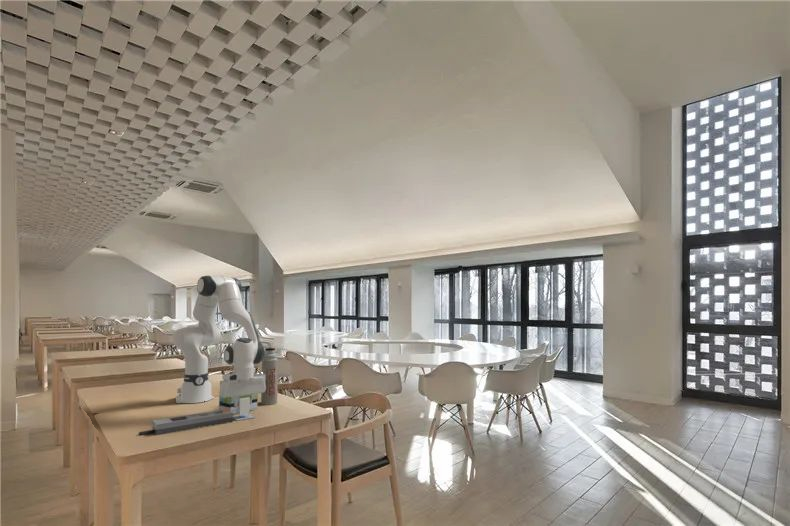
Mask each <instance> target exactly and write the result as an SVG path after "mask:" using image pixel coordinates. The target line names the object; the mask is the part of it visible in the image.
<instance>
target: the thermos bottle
mask: <svg viewBox="0 0 790 526" xmlns="http://www.w3.org/2000/svg"><path fill="white" fill-rule="evenodd" d="M264 350H265V356H264V358H263V360H262V361H261V372H262V373H264V374H265V376H266V379H265V385H266V390H265V392H264V393H260V394H261V395H260V396H261V397H260V404H261V405H263V406H264V405H265V406H269V405H270V406H271V404H272V405H275V404H277V403H278V383H279V382H278V372H279V370H278V367H279V360H278V358H277V357H278V355H277V353H276V348H275V347H267V348H266V347H265V348H264ZM264 374H262V375H264Z"/></svg>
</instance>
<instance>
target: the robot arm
mask: <svg viewBox="0 0 790 526" xmlns="http://www.w3.org/2000/svg"><path fill="white" fill-rule="evenodd" d="M242 287H243V286H242V283H241V281H240V279H238V278H235V277H229V276H223V275H204V276H203V275H202V276H201V277H200V278H199V279H198V280H197V283H196V290H197V292H198V294H197V297H196V300H195V303H194V307H193V311H192V315H193V318H194V319H195V320H196V321H198V324H197V326H186V327H181V328H179V329H176V330H175V331H174V333H173V335H172V342H173V344H174V346H175V347H176V348H178V349H179V350H180V351H181V353H182V355H183V357H184V358H183V359H184V366H185V367H184V368H185V369H184V370H185V371H184V374H183V382H182V384H181V385H180V387H179V388H177V392H176V393H177V394H178V395H175V403H176V404H198V403H203V402H204V401H205V402H208V401H210V400H212V399H215V396H214V395H212V383H211V382H210V381H209V376H210V374H209V372H208V371H209V369H208V368H209V359H208V357H207V356H206V355H205V354H203V353H201V351H200V350H201V349H200V348H201V347H202V348H203V347H210V346H213V345H216V344H218V343H219V342H220V340H221V336H222V333H221V329H220V328H218V326H217V325H216V315H217V314H216V313H217V310H219V314H220V316H221V317H222V318H223V319H224V320H226V322H227V321H228V322H230V323H233V324H236V325H239V326H241V327H242V328H244V330H245V333H246V335H247V337H239V338H236V340H235V341H234V343H232V344H230V345H227V347H226V348H225V349H224V352H223V355H224V357H223V360H224V362H225V363H226V364H228V365H229V366H233V370H230V371H229V372H226V373H224V374H222V380H221V381H222V382H221V386H220V385H219V395H220V396H221V397H222V398H228V397H232V399H233V401H234V406H235V407H236V406H239V402H237V401H236V399H237V396H243V395H250V396H251V397H250V404H252V399H253V398H254V394H257V393H258V394H261V393H264V392H265V390H266V385H265V379H266V376H265V374H264V373H262V371H260V372H255V366H254V365H258V364H260V363H262V360H263V358H264V356H265V351H266V350H265V348H264V345H263V344H262V342H261V339H260V336H259V333H258V329H257V327H256V324H255V321H254V318H253V316H252V314H251V312H248V311H247V309H246V308H245V306H244V304H243V303H244V302H243V299H242V294H241V292H242ZM262 374H264V375H262Z"/></svg>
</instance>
